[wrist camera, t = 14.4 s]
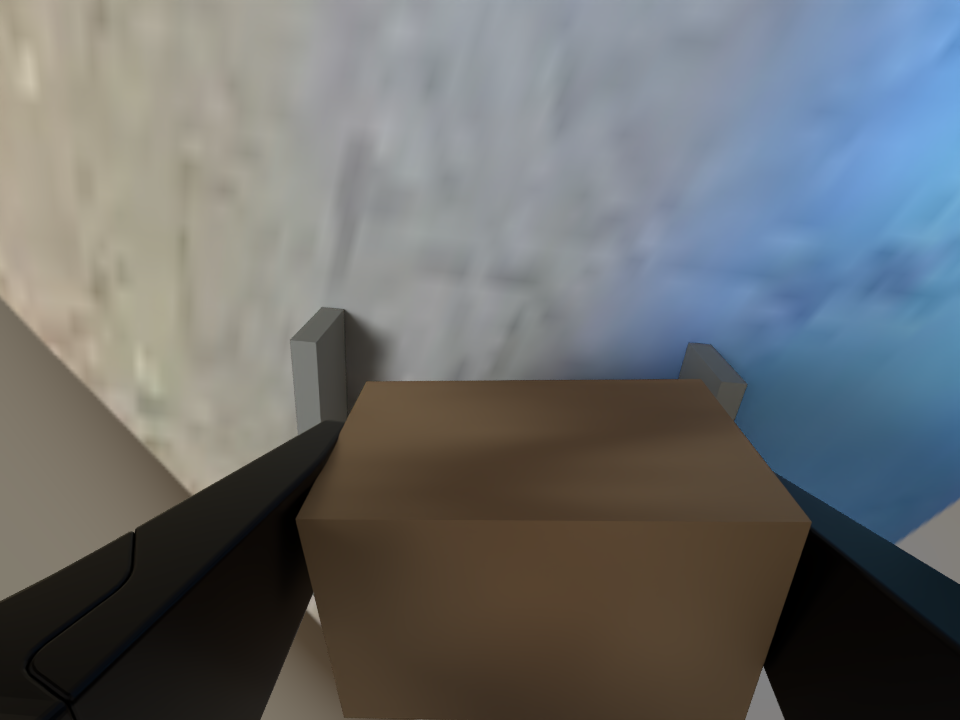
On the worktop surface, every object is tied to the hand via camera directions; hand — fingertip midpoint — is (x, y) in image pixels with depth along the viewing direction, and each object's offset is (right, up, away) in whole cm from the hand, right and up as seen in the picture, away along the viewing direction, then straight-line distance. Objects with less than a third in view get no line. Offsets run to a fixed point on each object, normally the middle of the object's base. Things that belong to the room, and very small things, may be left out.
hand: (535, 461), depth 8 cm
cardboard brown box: (0, 0, +1) cm, 1 cm away
